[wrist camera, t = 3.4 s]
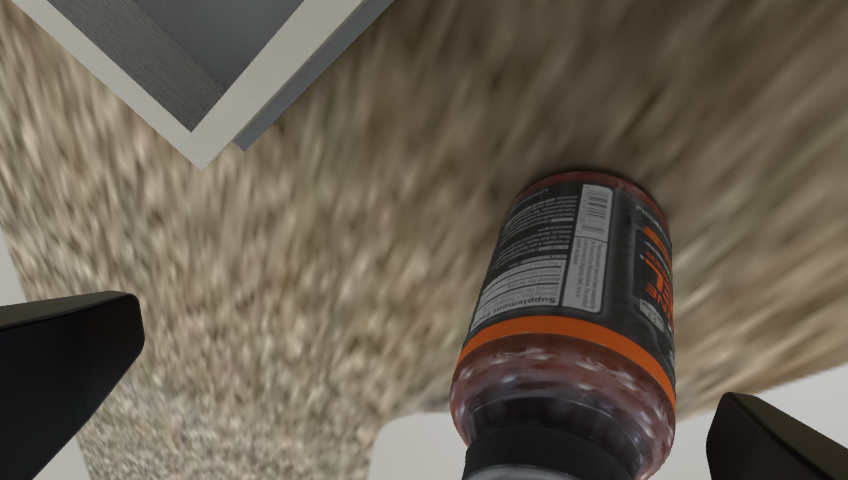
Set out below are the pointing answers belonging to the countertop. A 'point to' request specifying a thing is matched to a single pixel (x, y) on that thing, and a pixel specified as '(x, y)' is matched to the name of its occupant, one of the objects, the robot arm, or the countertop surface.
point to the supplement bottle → (571, 339)
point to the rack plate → (206, 58)
